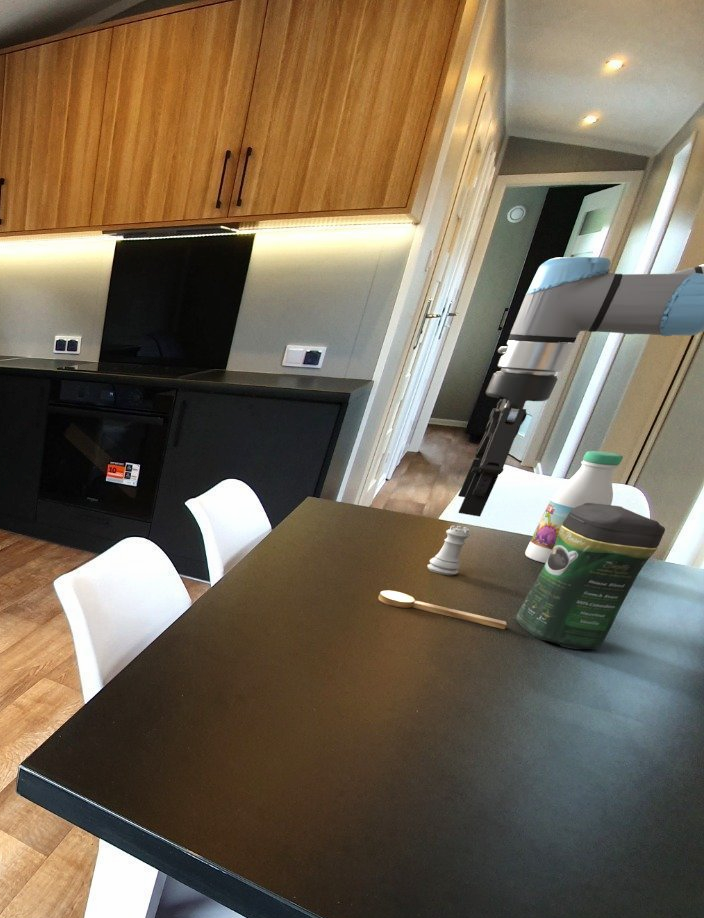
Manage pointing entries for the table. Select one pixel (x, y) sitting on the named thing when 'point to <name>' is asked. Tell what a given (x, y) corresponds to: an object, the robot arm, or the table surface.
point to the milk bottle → (574, 499)
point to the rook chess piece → (449, 552)
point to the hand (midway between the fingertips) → (468, 505)
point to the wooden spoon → (436, 609)
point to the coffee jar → (588, 575)
